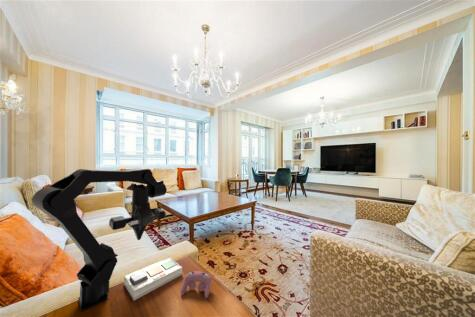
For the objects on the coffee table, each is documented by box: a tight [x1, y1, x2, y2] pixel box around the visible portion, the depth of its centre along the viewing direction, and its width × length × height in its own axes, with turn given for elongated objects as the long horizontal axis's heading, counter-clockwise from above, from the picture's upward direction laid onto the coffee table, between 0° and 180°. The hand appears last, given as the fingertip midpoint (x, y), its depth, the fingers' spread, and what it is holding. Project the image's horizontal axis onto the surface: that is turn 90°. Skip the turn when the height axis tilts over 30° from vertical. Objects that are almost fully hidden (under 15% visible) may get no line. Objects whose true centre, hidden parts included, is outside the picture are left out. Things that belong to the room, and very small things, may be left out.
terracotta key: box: [146, 266, 163, 277], centre depth 64 cm, size 4×4×2 cm
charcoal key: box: [130, 270, 148, 286], centre depth 60 cm, size 4×4×2 cm
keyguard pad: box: [123, 256, 183, 301], centre depth 64 cm, size 17×10×3 cm, turn 139°
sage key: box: [161, 260, 176, 270], centre depth 68 cm, size 4×4×2 cm
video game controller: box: [180, 270, 212, 299], centre depth 60 cm, size 10×5×7 cm, turn 85°
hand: (138, 239), depth 67 cm, fingers closed
